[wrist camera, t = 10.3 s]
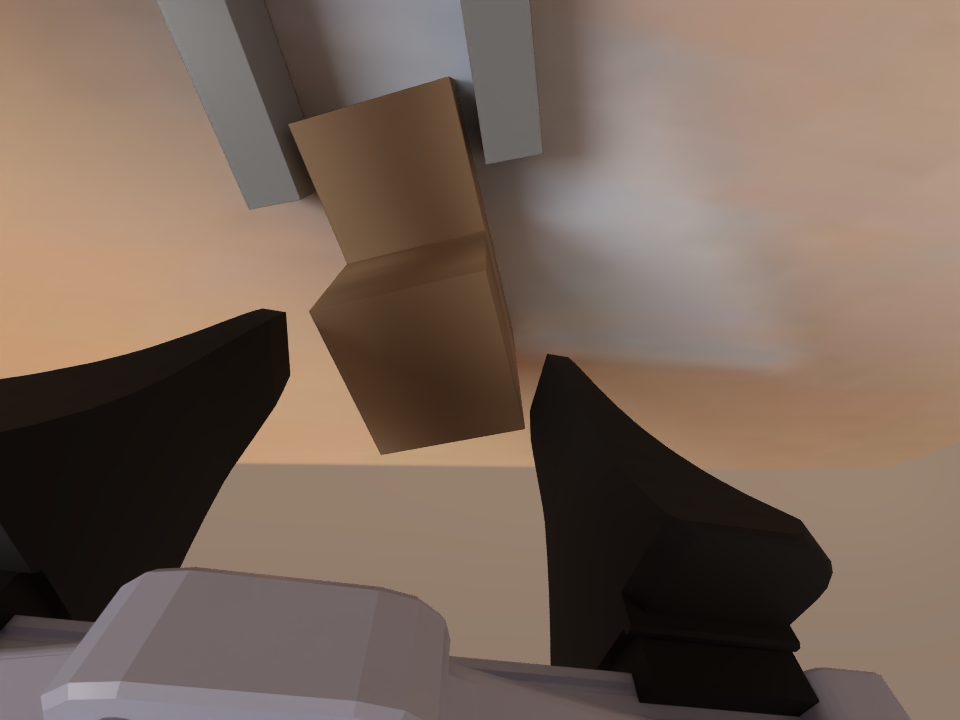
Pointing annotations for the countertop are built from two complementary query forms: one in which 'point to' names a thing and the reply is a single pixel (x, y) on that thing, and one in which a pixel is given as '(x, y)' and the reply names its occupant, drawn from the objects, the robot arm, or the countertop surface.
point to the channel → (273, 102)
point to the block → (412, 271)
